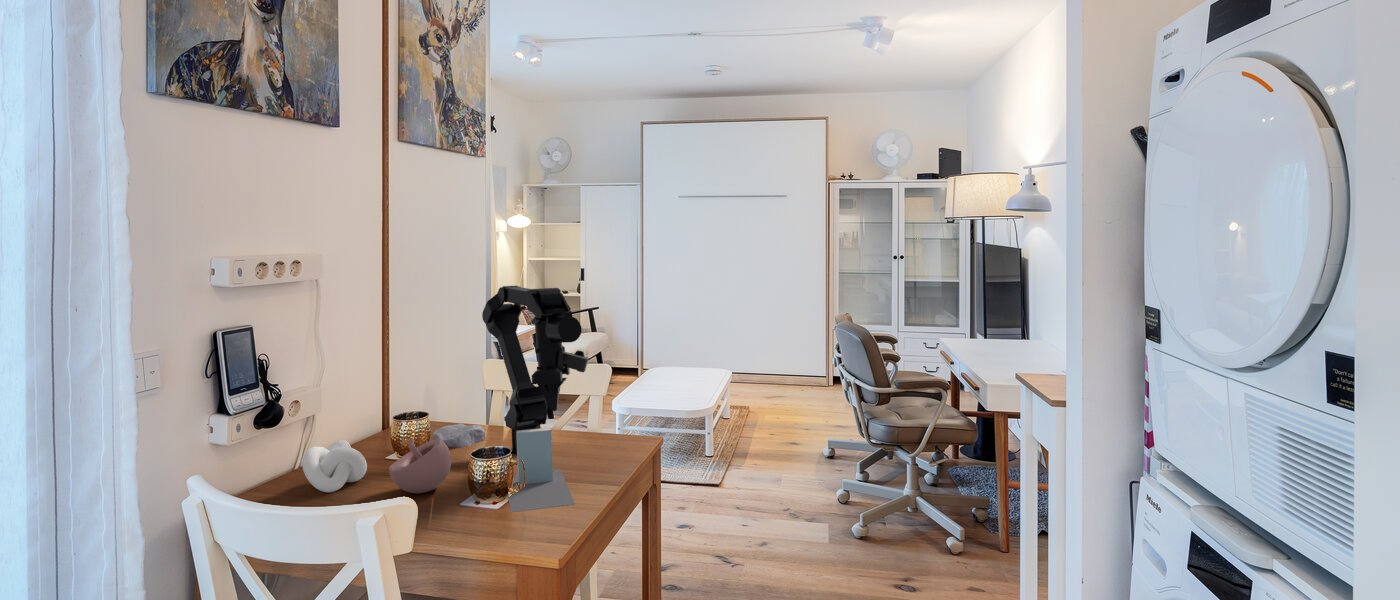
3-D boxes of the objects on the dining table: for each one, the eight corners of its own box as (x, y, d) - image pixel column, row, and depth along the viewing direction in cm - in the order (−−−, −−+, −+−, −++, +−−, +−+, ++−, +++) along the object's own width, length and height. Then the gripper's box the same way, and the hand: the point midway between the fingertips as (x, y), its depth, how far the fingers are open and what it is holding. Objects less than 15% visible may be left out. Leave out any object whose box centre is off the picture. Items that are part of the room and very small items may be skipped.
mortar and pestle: (391, 486, 147) (389, 432, 146) (452, 478, 151) (449, 426, 150) (388, 505, 136) (385, 448, 135) (453, 497, 140) (450, 441, 139)
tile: (518, 481, 147) (516, 430, 147) (551, 477, 150) (550, 427, 149) (518, 484, 146) (517, 433, 145) (552, 480, 148) (551, 429, 147)
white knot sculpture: (296, 485, 149) (294, 443, 148) (357, 472, 156) (355, 433, 155) (307, 499, 140) (305, 455, 139) (371, 485, 148) (369, 444, 147)
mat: (504, 477, 151) (504, 475, 151) (560, 471, 155) (560, 469, 155) (510, 514, 131) (510, 512, 131) (575, 506, 134) (575, 503, 134)
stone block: (459, 456, 174) (489, 439, 182) (454, 438, 173) (485, 422, 181) (428, 451, 180) (459, 434, 188) (424, 434, 179) (455, 418, 187)
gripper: (580, 341, 151) (586, 413, 151) (587, 337, 170) (593, 401, 170) (528, 346, 150) (534, 418, 150) (541, 341, 169) (546, 405, 169)
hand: (554, 410), depth 160 cm, fingers closed
